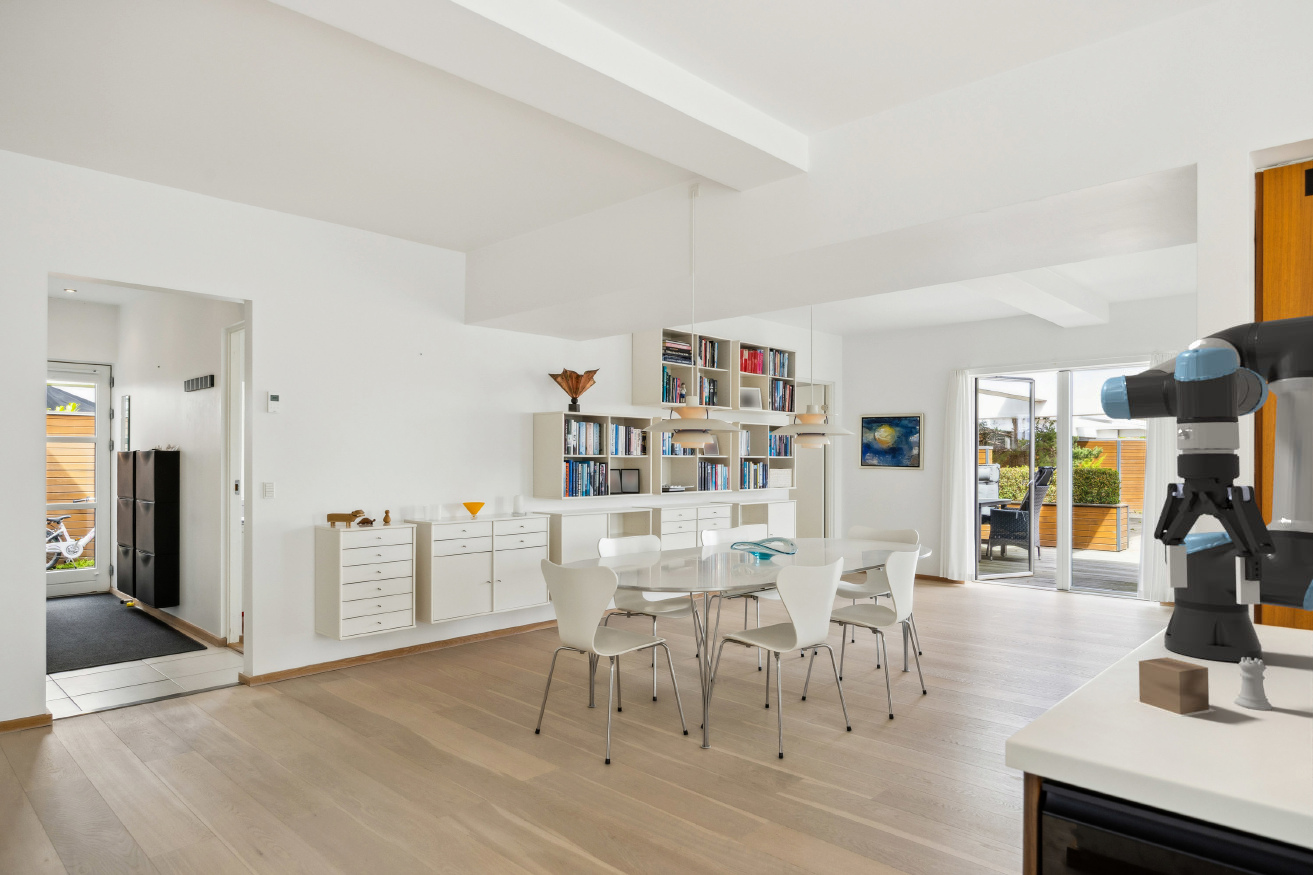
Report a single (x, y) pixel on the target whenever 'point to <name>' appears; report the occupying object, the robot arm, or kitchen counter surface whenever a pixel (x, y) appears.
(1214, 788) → the kitchen counter surface
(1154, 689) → the walnut cube
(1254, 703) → the rook chess piece
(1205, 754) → the kitchen counter surface
